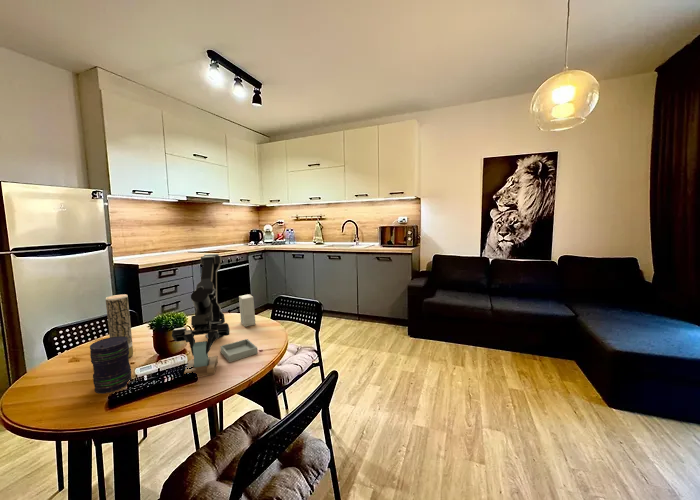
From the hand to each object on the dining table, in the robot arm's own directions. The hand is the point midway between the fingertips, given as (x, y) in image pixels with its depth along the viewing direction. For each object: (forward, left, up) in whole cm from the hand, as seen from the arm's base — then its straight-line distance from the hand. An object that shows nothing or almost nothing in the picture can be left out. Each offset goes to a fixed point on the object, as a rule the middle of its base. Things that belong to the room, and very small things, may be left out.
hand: (200, 354), depth 104 cm
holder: (-1, +1, -7) cm, 7 cm away
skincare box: (-37, +31, -7) cm, 49 cm away
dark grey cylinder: (-10, -24, -7) cm, 27 cm away
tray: (-6, +16, -7) cm, 18 cm away
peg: (-1, +1, -7) cm, 7 cm away
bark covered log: (-33, -21, -7) cm, 40 cm away
